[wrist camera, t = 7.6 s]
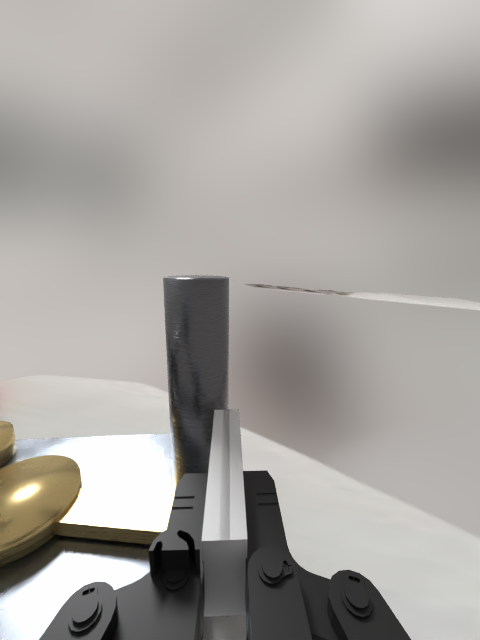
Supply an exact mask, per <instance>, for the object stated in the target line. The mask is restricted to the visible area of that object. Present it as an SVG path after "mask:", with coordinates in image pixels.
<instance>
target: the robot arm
mask: <svg viewBox="0 0 480 640" xmlns="http://www.w3.org/2000/svg"><path fill="white" fill-rule="evenodd" d="M149 563H150V571H149V572H148V573H147V574H146V575H145V576H143V577H142V578H141V579H139V580H137V581H135V582H133V583H131V584H128V585H126V586H123V587H121V588H118V589H116V590H114V589H113V586H111V585H110V584H108V583H107V582H105V581H95V582H92V583H89V584H87V585H84V586H83V587H81V588H80V589H78V590H77V591H76V592H74V593H73V594H72V595H71V596H70V597H69V598H68V600H67V601H66V602H65V603H64V604H63V605H62V607H61V608H60V610H59V611H58V613H57V614H56V616H55V617H54V618H53V620H52V621H51V623H50V624H49V626H48V627H47V629H46V630H45V631H44V633H43V634H42V636H41V637H40V639H39V640H203V619H204V617H218V616H236V615H246V626H247V639H246V640H411V639H410V637H409V636H408V634H407V633H406V631H405V630H404V628H403V627H402V625H401V624H400V622H399V621H398V619H397V618H396V616H395V615H394V613H393V612H392V610H391V609H390V607H389V606H388V604H387V603H386V602H385V600H384V599H383V597H382V596H381V594H380V593H379V591H378V590H377V589H376V587H375V586H374V585H373V584H372V583H371V582H370V581H369V580H368V579H367V578H365V577H364V576H362V575H361V574H360V573H357V572H354V571H351V570H342V571H338V572H337V573H336V574H334V575H333V576H332V578H331V580H330V579H327V578H324V577H321V576H318V575H315V574H313V573H310V572H308V571H306V570H305V569H303V568H302V567H301V566H299V565H298V564H297V562H296V561H295V560H294V559H293V557H292V556H291V554H290V552H289V549H288V546H287V542H286V537H285V532H284V527H283V522H282V517H281V512H280V507H279V503H278V498H277V493H276V488H275V483H274V480H273V479H272V477H271V476H270V474H269V473H268V472H267V471H243V465H242V449H241V434H240V420H239V410H238V409H234V410H214V420H213V430H212V440H211V450H210V460H209V470H208V473H190V474H184V475H183V477H182V478H181V480H180V481H179V482H178V484H177V486H176V491H175V495H174V499H173V504H172V509H171V512H170V517H169V521H168V525H167V529H166V530H165V531H163V532H161V533H160V534H159V535H158V536H157V537H156V538H155V539H154V541H153V542H152V544H151V546H150V549H149Z"/></svg>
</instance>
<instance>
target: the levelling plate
mask: <svg viewBox="0 0 480 640" xmlns="http://www.w3.org/2000/svg"><path fill="white" fill-rule="evenodd" d="M44 455H61V456H66V457H69V458H71V459H73V460H74V461H76V462H77V464H78V465H79V467H80V471H81V479H82V486H83V489H91V490H102V491H114V492H125V493H137V494H148V495H160V496H171V497H174V494H173V473H172V452H171V434H148V435H123V436H98V437H72V438H47V439H21V440H15V435H14V430H13V425H12V424H11V423H9V422H6V421H0V469H1V468H4V467H6V466H8V465H11V464H13V463H16V462H19V461H22V460H25V459H29V458H33V457H38V456H44ZM150 546H151V545H150V544H140V543H130V542H120V541H110V540H101V539H91V538H81V537H71V536H61V535H55V536H54V537H52V538H51V539H50V540H49V541H47V542H46V543H45V544H43V545H42V546H40V547H39V548H37V549H36V550H34V551H32V552H31V553H29V554H27V555H26V556H24V557H22V558H20V559H18V560H16V561H13V562H11V563H8V564H6V565H3V566H0V640H39V639H40V637H41V636H42V634H43V633H44V631H45V630H46V629H47V627H48V626H49V624H50V623H51V621H52V620H53V618H54V617H55V616H56V614H57V613H58V611H59V610H60V608H61V607H62V605H63V604H64V603H65V602H66V601H67V600H68V598H69V597H70V596H71V595H72V594H73V593H74V592H76V591H77V590H78V589H80V588H81V587H83V586H84V585H87V584H89V583H92V582H95V581H105V582H107V583H108V584H110V585H111V586H113V589H114V590H116V589H118V588H121V587H123V586H126V585H128V584H131V583H133V582H135V581H137V580H139V579H141V578H142V577H143V576H145V575H146V574H147V573H148V572H149V571H150V563H149V549H150Z"/></svg>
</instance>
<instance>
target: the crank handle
mask: <svg viewBox="0 0 480 640" xmlns="http://www.w3.org/2000/svg"><path fill="white" fill-rule="evenodd" d="M163 285H164V306H165V326H166V346H167V368H168V389H169V411H170V431H171V452H172V473H173V494H174V495H175V491H176V486H177V484H178V482H179V481H180V480H181V478H182V477H183V475H184V474H190V473H208V470H209V460H210V450H211V440H212V430H213V420H214V410H228V358H229V357H228V356H229V354H228V353H229V352H228V350H229V349H228V348H229V347H228V344H229V334H228V333H229V278H228V277H222V276H197V275H195V276H194V275H193V276H192V275H191V276H168V277H164V278H163ZM173 499H174V497H171V496H160V495H148V494H137V493H125V492H114V491H102V490H91V489H83V486H82V479H81V471H80V467H79V465H78V464H77V462H76V461H74V460H73V459H71V458H69V457H66V456H61V455H44V456H38V457H33V458H29V459H25V460H22V461H19V462H16V463H13V464H11V465H8V466H6V467H4V468H1V469H0V566H3V565H6V564H8V563H11V562H13V561H16V560H18V559H20V558H22V557H24V556H26V555H27V554H29V553H31V552H32V551H34V550H36V549H37V548H39V547H40V546H42V545H43V544H45V543H46V542H47V541H49V540H50V539H51V538H52V537H54V536H55V535H61V536H71V537H81V538H91V539H101V540H110V541H120V542H130V543H140V544H150V545H151V544H152V542H153V541H154V539H155V538H156V537H157V536H158V535H159V534H160V533H161V532H163V531H165V530H166V529H167V525H168V521H169V517H170V512H171V509H172V504H173Z"/></svg>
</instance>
